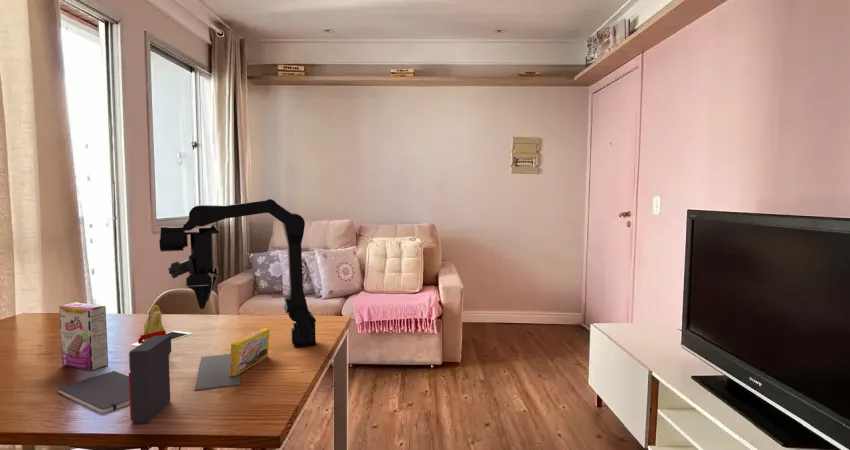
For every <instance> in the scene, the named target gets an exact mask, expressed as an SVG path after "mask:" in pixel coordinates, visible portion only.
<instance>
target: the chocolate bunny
mask: <svg viewBox="0 0 850 450" xmlns="http://www.w3.org/2000/svg"><path fill="white" fill-rule="evenodd" d="M162 313H163V312H162V310H161V309H160V306H158V305H157V304H154V305H151V307H150V309H149V313H148V314H149V315H148V317H147V318H146V320H145V323H144V327H143V334H141V335H140V337H139V338H138V339H137V342H138V343H139V344H140V343H142V341H144V342H145V341H147V340H148V339H150V338H151V337H153V336H166V330H165V328H164V326H163V323H162ZM169 358H170V355H169Z"/></svg>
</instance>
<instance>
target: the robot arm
mask: <svg viewBox="0 0 850 450" xmlns="http://www.w3.org/2000/svg"><path fill="white" fill-rule="evenodd" d="M261 214H269V215H270V216H272V217H274V218H275V219H276V220H278V221H280V222H281V223H282V228H283V232H284V235H285V239H286V243H287V255H288V257H287V259H288V261H287V262H288V282H289V289H288V295H286V294H285V295H283V299H284V306H283V309H284V311H285V313H286V314H287V315H288V317H289V318H290V320H292V322H293V323H292V328H291V330H290V331H291V337H290V338H291V339H290V341H291V344H292V345H293V347H294V348H301V347H310V346H311V347H312V346H317V341H316V322H317V320H316V317H315V316H314V315H313V313H312V312H311V311H310V310H309V308H308V303H307V299H306V296H305V291H304V281H303V279H304V277H303V256H302V255H303V254H302V253H303V252H302V241H303V238H304V233H305V225H306V221H305V219H304V217H302V216H301V215H300V214H298V213H294V212H290V211H288V210H287V209H285V208H284V207H282V205H280V204H278V203H277V202H276V200H274V199H271V198H266V199H264V200H259V201H258V200H257V201H249V202H243V203H236V204H228V205H227V204H226V205H220V204H219V205H218V204H215V205H213V204H211V205H210V204H198V205H196V206H194V207H192V208H191V209H190V210H189V213H188V220H186V222H184V224H183V225H182V226H160V236H159V237H160V238H159V241H158V242H159V243H158V244H159V250H160V253H162V252H163V253H164V252H182V251H185V248H188V247H189V238H190V254H189V256H188V259H186V260H183V261H180V262H179V260H177V261H174V262H172V263H171V264H170V266H168V267H167V269H168V274H170V276H171V278H172V279H176V278H178V277H179V276H182V275H184V274H186V273H188V274H189V275H188V276H187V277H186V279H185V282H186V283H185V285H186V287H187V288H188V289H191V290H192V291H193V292H194V293H195V296H196V301H197V303H198V308H199V309H200V310H203V309H206V304H207V303H208V302H209V300H210V297H211V294H212V292H213V288H214V286H215V283H216V280H217V278H218V274H219V267H218V266H216V264H215V263H214V256H215V252H214V236H213V234H219V233H220V229H218V228H217V227H216V226H215V224H214V223H217V222H221V221H223V220H225V219H231V218H238V217H246V216H253V215H255V216H256V215H261ZM210 224H212V225H211V226H210V227H206V226H207V225H210ZM196 227H199V228H198V230H197V231H192V230H193V229H195V228H196ZM189 235H190V236H189Z"/></svg>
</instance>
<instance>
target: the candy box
mask: <svg viewBox="0 0 850 450" xmlns="http://www.w3.org/2000/svg"><path fill="white" fill-rule="evenodd" d="M269 344H270V328H265V327H264V328H261V329H259V330H257V331H255V332H253V333H251V334H249V335H247V336H244V337H242V338H240V339H238V340H236V341H234V342H231V343H230V353H229V354H230V369H229V376H236V375H238V374H240V375H241V373H243V372H245V371H246V370H248V369H249V368H251V367H253V366H256V364H258V363H260V362H262V361H263V360H265V359H266V358H268V357H269V348H270V347H269Z"/></svg>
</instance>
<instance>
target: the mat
mask: <svg viewBox="0 0 850 450" xmlns="http://www.w3.org/2000/svg"><path fill="white" fill-rule="evenodd" d="M229 369H230V353H226V354H217V355H216V354H215V355H208V356H207V355H206V356H201V357H200V362H199V367H198V371H197V376H196V381H195V385H194V390H193V391H195V392H197V391H204V390H212V389H218V388H227V387H235V386H241V373H240V374H238V375H236V376H229Z"/></svg>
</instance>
